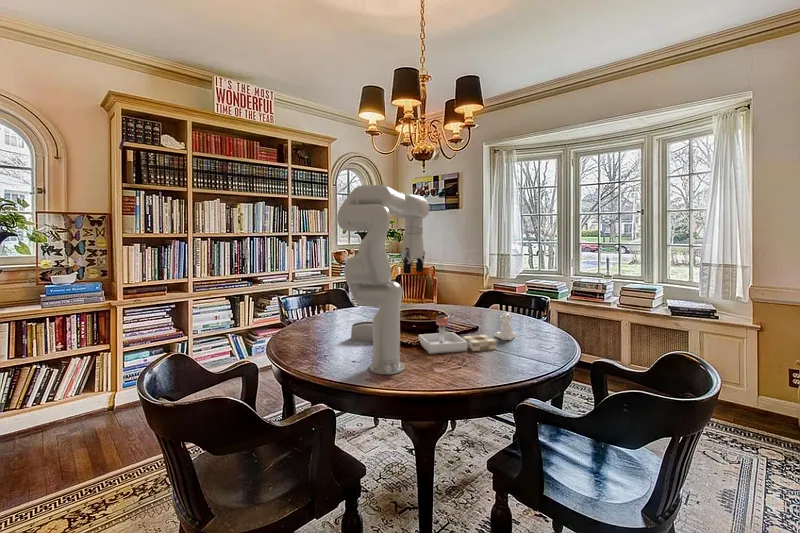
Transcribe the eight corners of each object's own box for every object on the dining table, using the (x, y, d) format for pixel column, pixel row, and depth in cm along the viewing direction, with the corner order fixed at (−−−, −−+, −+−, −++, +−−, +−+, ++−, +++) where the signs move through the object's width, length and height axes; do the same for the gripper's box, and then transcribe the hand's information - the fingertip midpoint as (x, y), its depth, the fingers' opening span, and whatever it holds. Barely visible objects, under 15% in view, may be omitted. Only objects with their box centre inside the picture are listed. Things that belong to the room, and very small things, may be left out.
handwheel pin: (434, 344, 169) (434, 315, 168) (445, 343, 170) (445, 314, 169) (438, 347, 164) (438, 317, 163) (449, 346, 165) (449, 317, 164)
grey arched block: (388, 337, 181) (387, 319, 177) (387, 344, 177) (386, 325, 173) (352, 337, 182) (350, 318, 178) (350, 343, 178) (348, 324, 174)
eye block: (495, 349, 163) (495, 340, 163) (472, 351, 161) (473, 342, 161) (484, 342, 173) (484, 334, 173) (463, 344, 171) (463, 336, 170)
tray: (467, 350, 161) (467, 342, 161) (429, 353, 158) (429, 345, 157) (452, 340, 177) (453, 332, 177) (418, 342, 173) (418, 334, 173)
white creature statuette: (515, 336, 182) (515, 310, 181) (519, 341, 174) (519, 314, 173) (494, 335, 183) (494, 310, 182) (496, 341, 175) (497, 314, 174)
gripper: (416, 231, 174) (416, 270, 175) (394, 231, 160) (394, 273, 161) (431, 231, 170) (431, 271, 171) (410, 231, 155) (409, 274, 157)
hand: (413, 272), depth 166 cm, fingers open, 9 cm apart
